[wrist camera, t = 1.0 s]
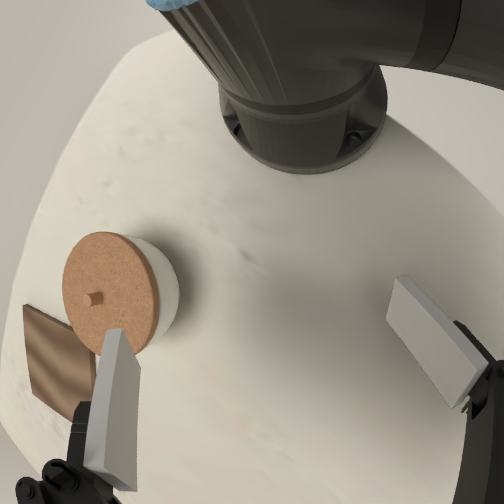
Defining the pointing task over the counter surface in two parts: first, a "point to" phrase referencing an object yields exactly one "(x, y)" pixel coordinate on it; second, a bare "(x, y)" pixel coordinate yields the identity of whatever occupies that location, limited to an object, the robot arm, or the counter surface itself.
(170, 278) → the lidded jar
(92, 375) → the walnut board
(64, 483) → the robot arm
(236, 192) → the counter surface
